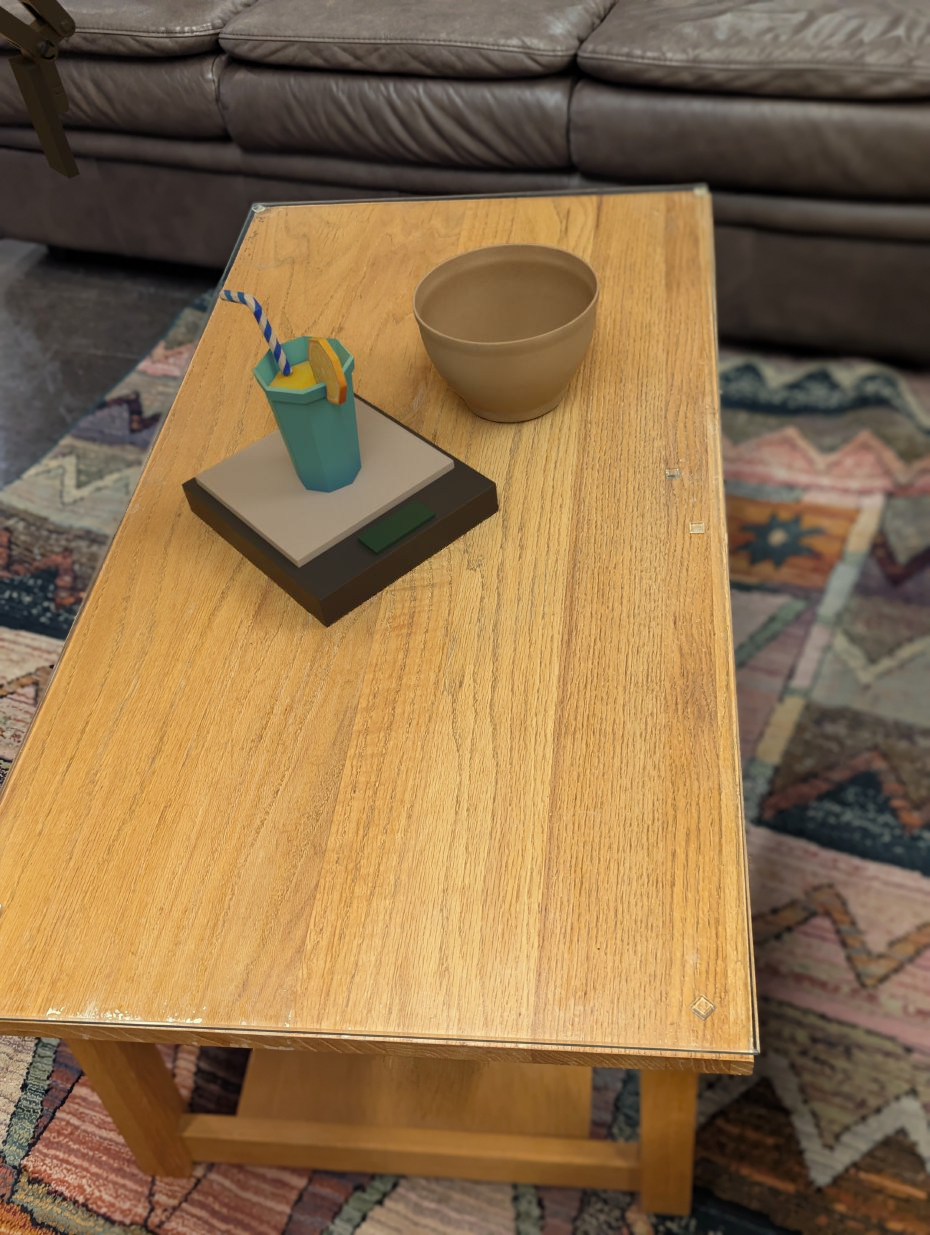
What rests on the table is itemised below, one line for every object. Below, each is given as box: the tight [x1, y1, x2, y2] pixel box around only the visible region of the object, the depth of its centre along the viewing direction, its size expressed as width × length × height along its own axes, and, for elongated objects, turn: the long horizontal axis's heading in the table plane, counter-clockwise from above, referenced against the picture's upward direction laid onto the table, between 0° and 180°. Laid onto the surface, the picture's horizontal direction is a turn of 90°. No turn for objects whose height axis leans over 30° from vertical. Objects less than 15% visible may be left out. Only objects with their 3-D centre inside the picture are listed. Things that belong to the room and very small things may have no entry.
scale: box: [181, 392, 500, 628], centre depth 90 cm, size 18×20×4 cm
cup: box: [218, 289, 361, 493], centre depth 84 cm, size 14×8×15 cm, turn 50°
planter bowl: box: [411, 242, 600, 423], centre depth 96 cm, size 16×16×11 cm
